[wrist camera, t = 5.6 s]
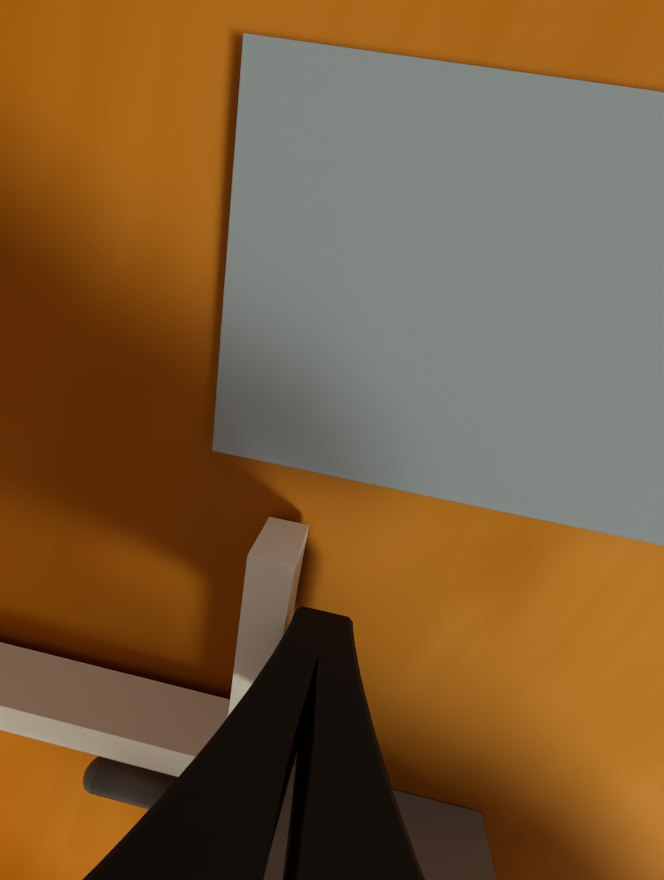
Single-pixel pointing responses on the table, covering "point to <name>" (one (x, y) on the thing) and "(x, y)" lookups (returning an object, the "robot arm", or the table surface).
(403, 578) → the table surface
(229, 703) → the white angled bracket
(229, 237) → the slate pad
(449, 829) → the lead plug
